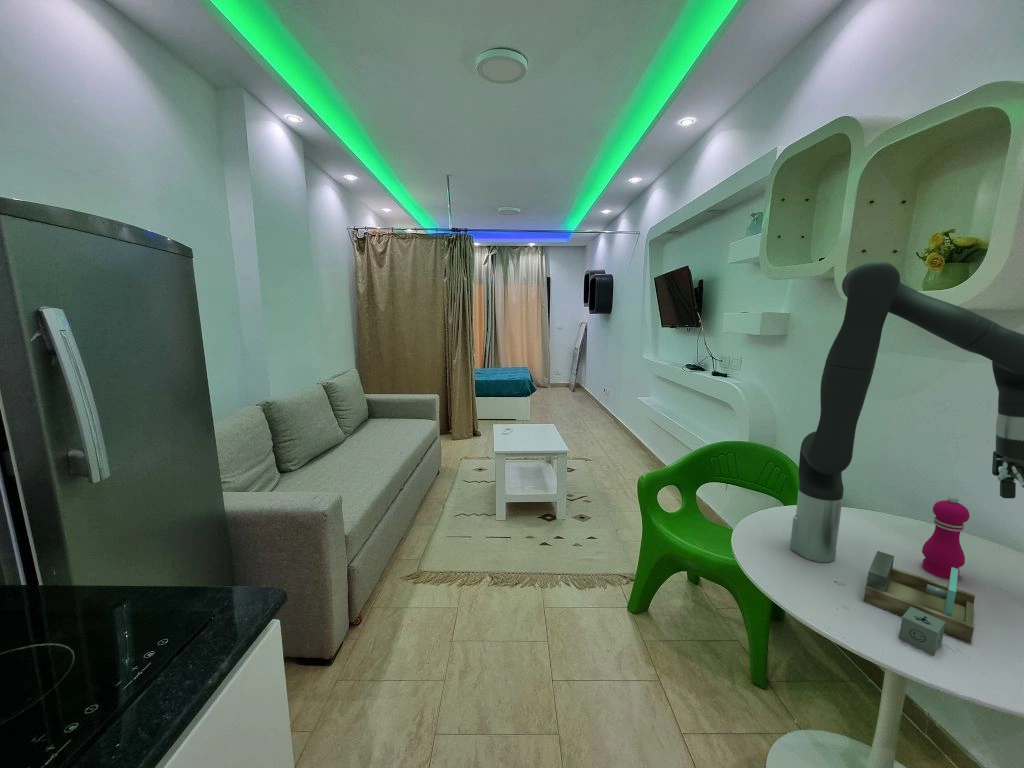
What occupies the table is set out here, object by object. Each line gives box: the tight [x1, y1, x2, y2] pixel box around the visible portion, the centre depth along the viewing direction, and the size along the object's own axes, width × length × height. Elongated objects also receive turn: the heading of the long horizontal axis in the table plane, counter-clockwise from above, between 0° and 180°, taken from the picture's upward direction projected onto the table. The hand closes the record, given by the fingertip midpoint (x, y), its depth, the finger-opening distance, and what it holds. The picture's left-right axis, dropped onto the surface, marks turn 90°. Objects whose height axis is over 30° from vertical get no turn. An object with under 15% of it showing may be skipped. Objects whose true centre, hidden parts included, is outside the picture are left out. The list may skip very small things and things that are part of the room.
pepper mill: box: [921, 495, 970, 580], centre depth 98 cm, size 7×7×20 cm
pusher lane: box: [863, 550, 976, 644], centre depth 88 cm, size 16×14×7 cm
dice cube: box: [898, 607, 946, 657], centre depth 79 cm, size 5×5×5 cm
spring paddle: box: [926, 567, 959, 616], centre depth 86 cm, size 4×11×8 cm, turn 131°
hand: (1021, 506), depth 88 cm, fingers open, 8 cm apart
